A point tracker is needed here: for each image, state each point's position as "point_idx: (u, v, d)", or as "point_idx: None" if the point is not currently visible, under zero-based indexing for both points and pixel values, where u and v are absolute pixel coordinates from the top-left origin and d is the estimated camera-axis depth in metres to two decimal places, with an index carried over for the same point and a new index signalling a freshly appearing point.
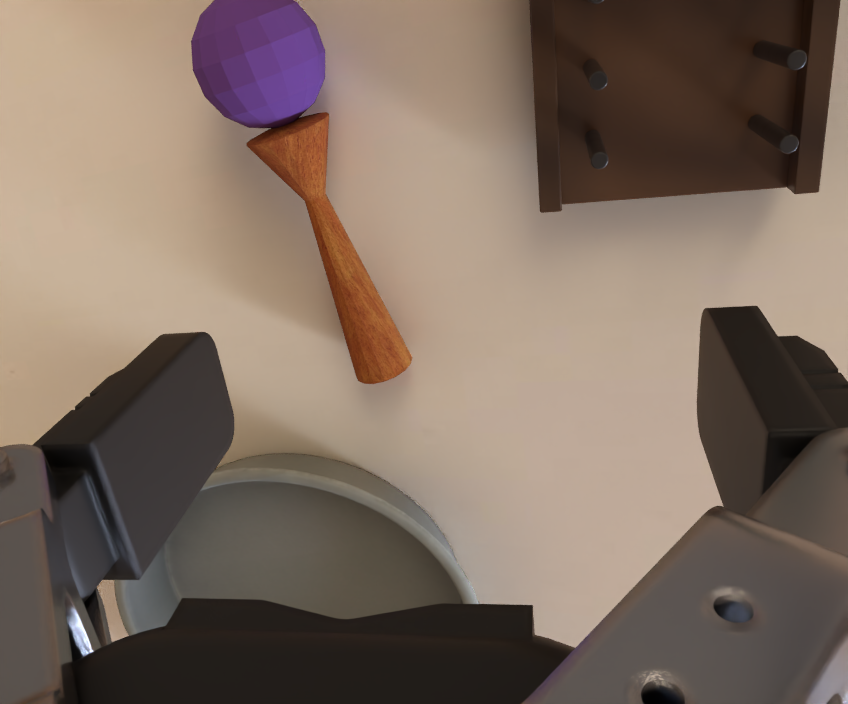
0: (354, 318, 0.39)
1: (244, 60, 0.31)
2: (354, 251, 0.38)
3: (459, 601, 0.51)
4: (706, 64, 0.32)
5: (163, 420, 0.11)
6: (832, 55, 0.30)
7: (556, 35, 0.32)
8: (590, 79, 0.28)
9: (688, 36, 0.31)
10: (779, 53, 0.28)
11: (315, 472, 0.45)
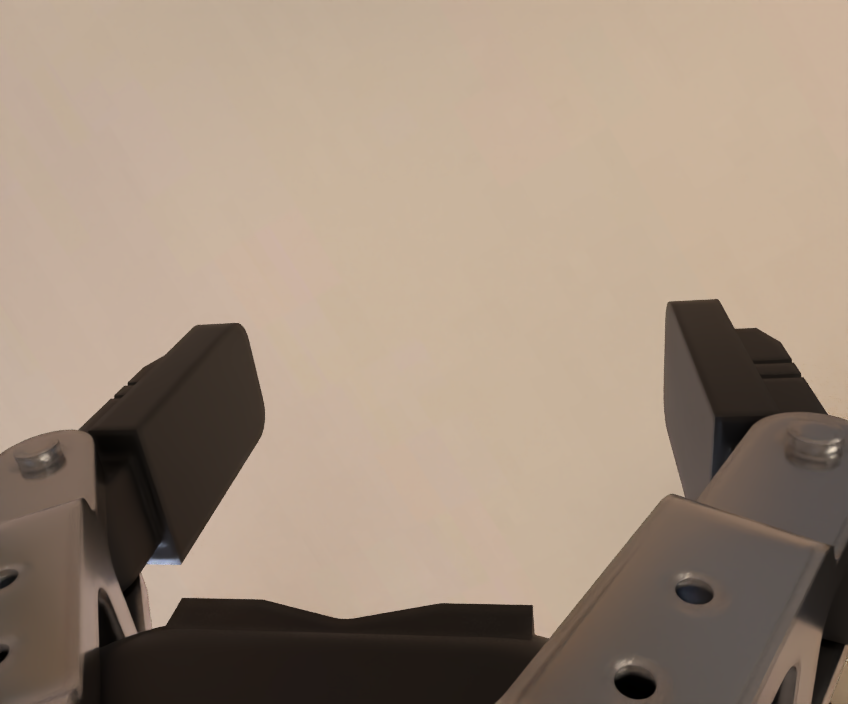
0: None
1: None
2: None
3: None
4: None
5: (201, 408, 0.11)
6: None
7: None
8: None
9: None
10: None
11: None
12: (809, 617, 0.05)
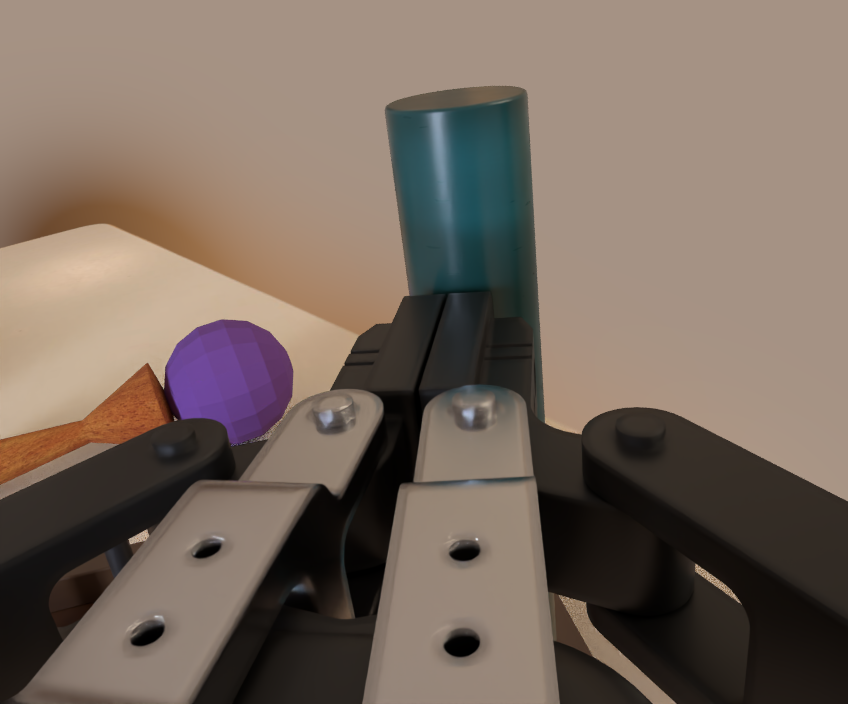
0: None
1: (218, 328, 0.34)
2: (9, 466, 0.32)
3: None
4: None
5: None
6: None
7: None
8: None
9: None
10: None
11: None
12: None
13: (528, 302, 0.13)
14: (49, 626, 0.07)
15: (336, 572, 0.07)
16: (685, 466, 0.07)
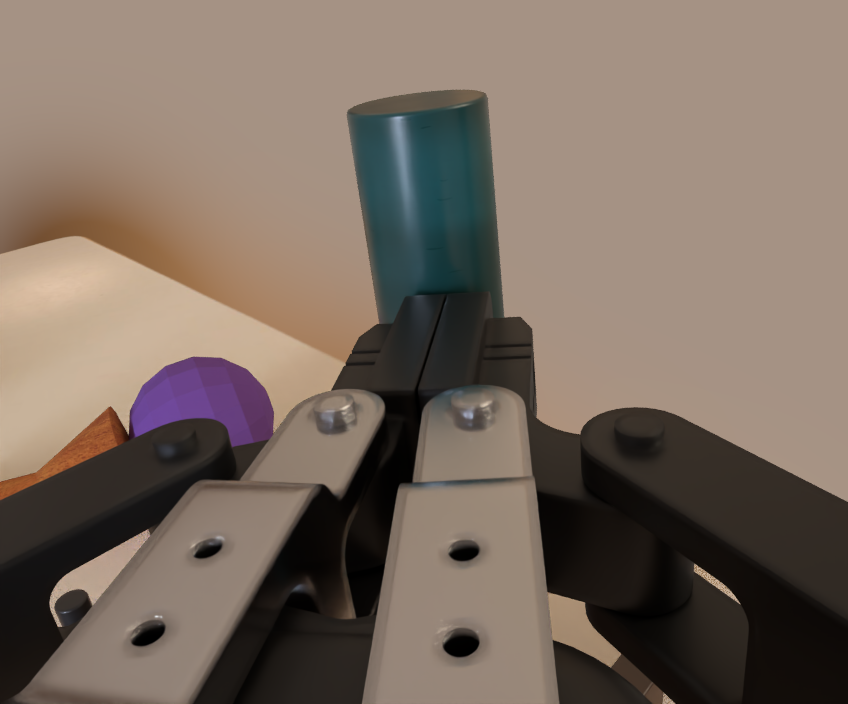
0: None
1: (189, 368, 0.31)
2: None
3: None
4: None
5: None
6: None
7: None
8: None
9: None
10: None
11: None
12: None
13: None
14: (50, 626, 0.07)
15: (335, 572, 0.07)
16: (683, 466, 0.07)
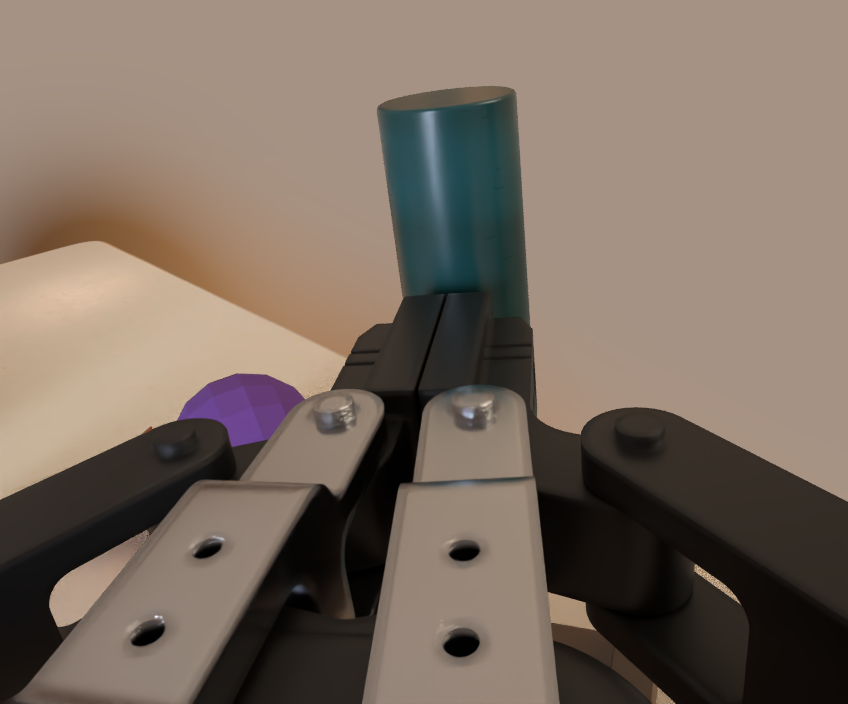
0: None
1: (235, 387, 0.29)
2: None
3: None
4: None
5: None
6: None
7: None
8: None
9: None
10: None
11: None
12: None
13: None
14: (49, 626, 0.07)
15: (335, 572, 0.07)
16: (684, 466, 0.07)
